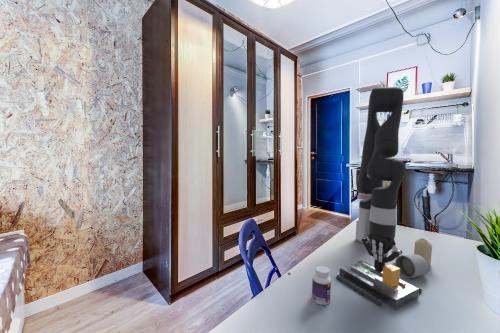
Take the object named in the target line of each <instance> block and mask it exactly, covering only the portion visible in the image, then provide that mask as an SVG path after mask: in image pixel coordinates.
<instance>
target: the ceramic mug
mask: <svg viewBox="0 0 500 333" xmlns="http://www.w3.org/2000/svg"><path fill="white" fill-rule="evenodd" d="M391 265H394V266H396V267H398V268H400V275H401V276H402V277H403V278H406V279H412V278H417V277H421V276H424V275H426V274H427V273H428V272H429V268H430V267H429V266H428V263H427V261H426V260H425V259H424V258H423V257H422V256H420V255H416V254H414V253H413V254H401V255H399V256H398V257H397V258H395V259H394V262H392V263H391Z"/></svg>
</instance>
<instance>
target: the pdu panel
mask: <svg viewBox="0 0 500 333" xmlns="http://www.w3.org/2000/svg"><path fill="white" fill-rule="evenodd" d="M370 264H371V263H368V262H366V261H364V260H362V259H361V260H357V261H355V262H351V263H349V264H345V265H343V266H339V274H338V275H339V276H341V277H342V278H344V279H345V280H347V281H349V282H350V283H352V284H353V285H355V286H357V287H358V288H360V289H362V290H363V291H365V292H366V293H368V294H370V295H371V296H373V297H374V298H376V299H378V300H379V301H381V302H382V303H384V304H385V305H387V306H389V308H392V309H394V310H398V309H400V308H401V307H403V306H405V305H407V304H409V303H411V302H413V301H414V300H416V299H418V298H419V294H420V292H419V288H420V287H418V286H416V285H414V284H412V283H410V282H408V283H407V281H406V280H404V281H403V279H402V280H401V278H400V279H399V284H397V285H395V286H393V287H391V286H389V285H387V284H386V283H384V282H382V276H383V272H381V273H379V272H377V271H375V268H374V265H373V264H371V265H370ZM372 265H373V266H372ZM405 281H406V282H405ZM409 283H410V284H409ZM411 284H412V285H411ZM413 285H414V286H413ZM415 286H416V287H415ZM417 287H418V288H417Z"/></svg>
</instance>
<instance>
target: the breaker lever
mask: <svg viewBox="0 0 500 333" xmlns="http://www.w3.org/2000/svg"><path fill="white" fill-rule="evenodd" d="M400 275H401V274H400V268H398V267H396V266H394V265H393V264H392V263H390V264H388V265H385V266H384V267H383V276H382V282H384V283H386V284H387V285H389V286H391V287H393V286H395V285H397V284H399V278H400V279H401V276H400Z"/></svg>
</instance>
